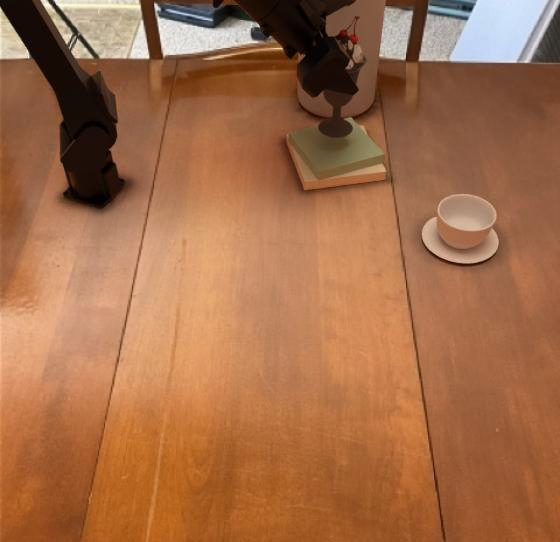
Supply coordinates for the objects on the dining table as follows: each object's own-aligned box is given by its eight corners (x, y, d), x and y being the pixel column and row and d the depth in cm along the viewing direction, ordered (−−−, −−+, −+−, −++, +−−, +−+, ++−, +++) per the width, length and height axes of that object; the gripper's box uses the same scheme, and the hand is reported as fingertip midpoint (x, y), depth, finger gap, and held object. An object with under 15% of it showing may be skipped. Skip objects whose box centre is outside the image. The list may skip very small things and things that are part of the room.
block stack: (303, 191, 96) (304, 173, 94) (285, 142, 104) (285, 124, 101) (386, 180, 98) (389, 162, 95) (362, 133, 105) (364, 115, 103)
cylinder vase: (365, 126, 106) (384, -51, 87) (288, 113, 108) (290, -62, 89) (380, 86, 114) (401, -85, 94) (308, 75, 116) (314, -95, 96)
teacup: (490, 273, 86) (500, 245, 82) (413, 255, 88) (419, 226, 84) (503, 225, 92) (512, 197, 88) (430, 209, 94) (436, 180, 90)
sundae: (365, 121, 98) (378, 13, 86) (349, 145, 94) (361, 36, 82) (322, 111, 99) (329, 3, 87) (305, 134, 95) (310, 25, 84)
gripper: (339, -24, 72) (420, 69, 82) (299, -87, 83) (375, 1, 93) (265, 57, 77) (350, 134, 87) (238, -14, 88) (316, 62, 98)
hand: (349, 79), depth 91 cm, fingers closed on sundae, 6 cm apart
